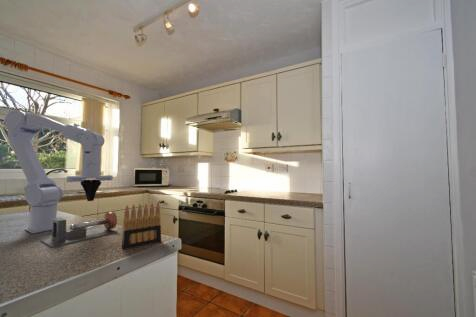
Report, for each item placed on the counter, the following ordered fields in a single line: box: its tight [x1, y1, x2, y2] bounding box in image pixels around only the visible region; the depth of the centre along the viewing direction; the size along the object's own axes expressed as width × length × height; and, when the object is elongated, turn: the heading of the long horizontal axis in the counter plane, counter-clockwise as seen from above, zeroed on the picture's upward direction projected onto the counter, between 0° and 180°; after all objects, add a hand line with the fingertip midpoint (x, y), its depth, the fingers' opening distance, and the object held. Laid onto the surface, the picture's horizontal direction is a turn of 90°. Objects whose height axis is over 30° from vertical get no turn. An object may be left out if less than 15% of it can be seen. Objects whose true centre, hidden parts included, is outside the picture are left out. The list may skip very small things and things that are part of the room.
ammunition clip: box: [121, 202, 162, 250], centre depth 66 cm, size 11×2×12 cm, turn 129°
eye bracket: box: [40, 217, 118, 249], centre depth 73 cm, size 10×18×7 cm, turn 145°
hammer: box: [69, 211, 118, 230], centre depth 76 cm, size 6×14×6 cm, turn 145°
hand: (90, 200), depth 82 cm, fingers closed
